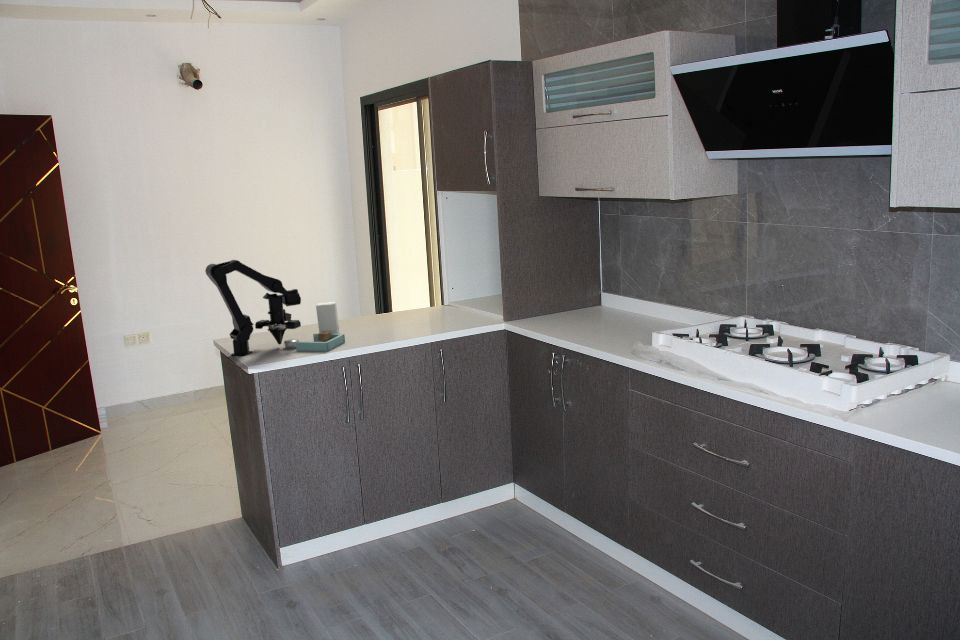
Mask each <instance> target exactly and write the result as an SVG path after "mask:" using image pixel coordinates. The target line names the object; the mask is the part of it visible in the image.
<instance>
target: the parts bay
mask: <svg viewBox="0 0 960 640" xmlns="http://www.w3.org/2000/svg"><path fill="white" fill-rule="evenodd" d="M312 335H313V341H299V342H296V348H295V349H296V351H297V352H298V351H300V352H301V351H303V352H304V351H305V352H308V351H309V352H311V351H312V352H329V351H331V350H333V349H334V347H335V348H336V347H338V346H340V345H342V344H344V343H346V338H345V333H340V334H331V340H329V341H327V342H319V341H318V333H314V334H312Z"/></svg>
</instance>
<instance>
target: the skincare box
mask: <svg viewBox="0 0 960 640" xmlns="http://www.w3.org/2000/svg"><path fill="white" fill-rule="evenodd" d="M337 307H338V306H337V301H329V302H328V301H327V302H318V303H317V304H316V306H315V308H316V309H315V310H316V316H317V317H316V318H317V324H318V332H319V333H321V332H331V334H341V333H340V325H339V324H340V323H339V318H338V317H339V316H338V309H337Z"/></svg>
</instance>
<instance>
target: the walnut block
mask: <svg viewBox="0 0 960 640" xmlns="http://www.w3.org/2000/svg"><path fill="white" fill-rule="evenodd" d="M317 334H318V341H319V342H327V341H329V340H331V332H321V333H317Z"/></svg>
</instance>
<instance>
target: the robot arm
mask: <svg viewBox="0 0 960 640" xmlns="http://www.w3.org/2000/svg"><path fill="white" fill-rule="evenodd" d="M204 272H205V275H206V276H207V277H208V279H209V280H210V281H211V282H212V284H214V286H215V287H216V288H217V291H218V292H219V294H220V296H221V298H222V300H223V301H224V303H225V306H226V308H227V310H228V312H229V314H230V316H231V318H232V325H233V329H232V330H231V331H230V333H229V337H230V338H231V340H232V346H233V353H230V355H231V356H242V357H244V356H247V355H250V354H251V353H253V350H250V345H249V340H250V339H251V335H252V333H254V327H255V329H256V330H261V329H263V328H264V327H268V329H267V331H268V332H270V334H271V335H272V337H273V338H274V340H275V341H276V343H277V344H278V345H282V341H283V338H284V336H285V332H286V331H287V330H295V329H298V328H300V327H301V326H302V325H301V321H300V320H299V319H292V313H288V312H286V309H285V308H284V305H285V306H286V307H292V306H298V305H301V303H302V298H301V296H300V292H299V290H298V289H297V288H294V289H293V288H292V289H290V290H287V289H286V288H285V286H283V282H282V281H281V280H280V279H278V278H275V277H271V276H268V275H265V274H263V273H261V272H259V271H257V270H256V269H254V268H252V267H249V266H248V265H247V264H244V263H242V262H241V261H239V260H237V259H231V260H229V261H225V262H221V263H209V264H208V265H207V266H206V267H205V271H204ZM232 272H237V273H240V274H241V275H243V276H245V277H247V278H249V279H251V280H252V281H255V282H256V283H258V284H259V285H260V286H261V287H263V289H265V290H266V291H268V292H266V293H265V294H264V295H263V296H262V298H263V299H265V300H267V301H268V311H267V314H268V315H269V319H260V320H258V321H256V322H255V324H254V323H253V322H252V319H251V317H250V316H249V315H247V314H243V312H242V310H241V308H240V306H239V303H238V302H237V299H236V298H235V296H234V294H233V292H232V290H231V288H230V286H229V284H228V278H227V275H228V274H230V273H232ZM269 292H270V293H269Z"/></svg>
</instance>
